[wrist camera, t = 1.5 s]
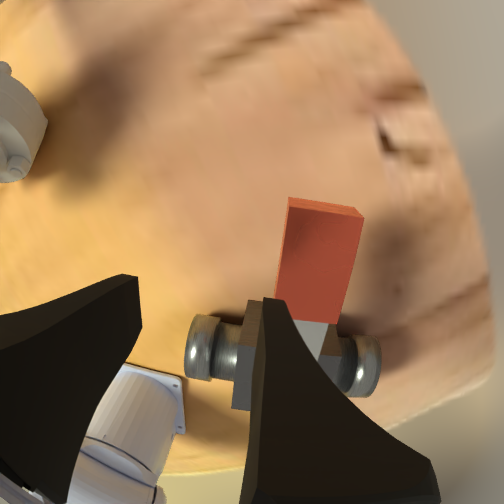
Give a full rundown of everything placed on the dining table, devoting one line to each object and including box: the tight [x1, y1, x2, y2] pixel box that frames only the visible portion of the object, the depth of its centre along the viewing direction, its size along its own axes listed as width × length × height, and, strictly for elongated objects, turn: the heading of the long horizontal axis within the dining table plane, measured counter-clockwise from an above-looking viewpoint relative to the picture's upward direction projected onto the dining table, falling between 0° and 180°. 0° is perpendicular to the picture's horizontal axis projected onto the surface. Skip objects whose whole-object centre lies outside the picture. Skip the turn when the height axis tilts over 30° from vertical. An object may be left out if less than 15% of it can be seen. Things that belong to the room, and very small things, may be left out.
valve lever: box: [273, 197, 364, 361], centre depth 15 cm, size 13×3×2 cm, turn 174°
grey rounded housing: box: [0, 0, 48, 183], centre depth 13 cm, size 10×20×15 cm
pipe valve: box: [184, 300, 381, 411], centre depth 20 cm, size 6×13×5 cm, turn 84°
